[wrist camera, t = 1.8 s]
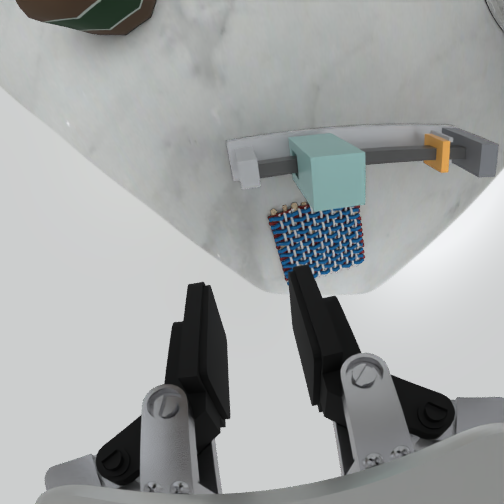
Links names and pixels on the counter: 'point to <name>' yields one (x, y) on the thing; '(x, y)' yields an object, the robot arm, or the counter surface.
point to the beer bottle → (91, 14)
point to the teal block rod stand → (367, 149)
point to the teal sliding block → (329, 171)
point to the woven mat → (318, 238)
